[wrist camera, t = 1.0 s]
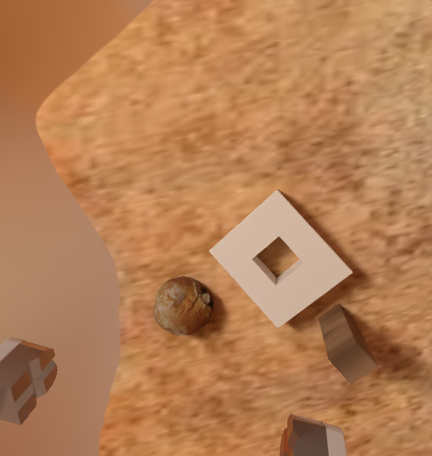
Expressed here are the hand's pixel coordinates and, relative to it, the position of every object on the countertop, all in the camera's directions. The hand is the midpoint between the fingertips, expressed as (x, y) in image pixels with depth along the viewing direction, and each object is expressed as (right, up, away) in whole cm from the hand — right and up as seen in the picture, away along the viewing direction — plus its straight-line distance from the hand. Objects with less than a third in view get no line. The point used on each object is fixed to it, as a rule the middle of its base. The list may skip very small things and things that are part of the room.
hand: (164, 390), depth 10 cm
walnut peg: (+21, -9, +38) cm, 45 cm away
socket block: (+12, +1, +39) cm, 41 cm away
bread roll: (-3, -8, +44) cm, 45 cm away
